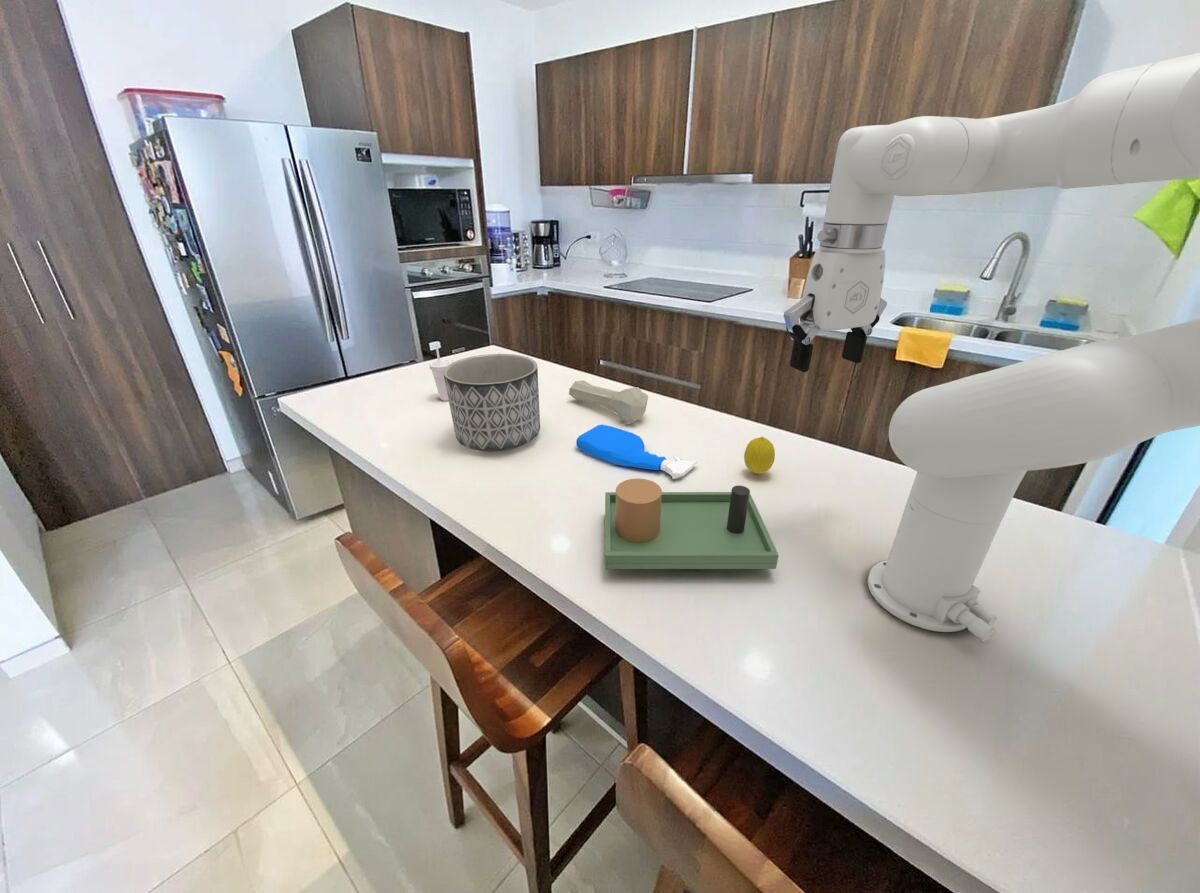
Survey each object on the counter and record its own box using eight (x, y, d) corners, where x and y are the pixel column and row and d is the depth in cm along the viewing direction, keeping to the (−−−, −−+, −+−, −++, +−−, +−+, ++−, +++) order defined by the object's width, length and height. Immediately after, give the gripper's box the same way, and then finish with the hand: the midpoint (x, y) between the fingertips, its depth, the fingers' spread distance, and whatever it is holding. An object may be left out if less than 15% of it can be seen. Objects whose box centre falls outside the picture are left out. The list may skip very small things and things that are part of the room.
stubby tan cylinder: (615, 542, 74) (616, 503, 70) (615, 515, 80) (615, 478, 76) (661, 542, 74) (664, 503, 70) (657, 515, 80) (659, 478, 76)
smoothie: (434, 395, 135) (425, 344, 128) (459, 392, 136) (451, 342, 130) (435, 403, 129) (425, 351, 123) (460, 400, 131) (452, 348, 124)
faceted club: (629, 428, 112) (556, 404, 129) (652, 426, 119) (580, 403, 135) (635, 390, 110) (561, 370, 126) (658, 390, 116) (584, 371, 133)
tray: (605, 569, 70) (604, 523, 66) (605, 504, 84) (605, 463, 80) (776, 569, 70) (785, 522, 66) (747, 504, 84) (753, 462, 80)
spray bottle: (571, 438, 104) (674, 476, 91) (603, 420, 112) (701, 453, 98) (572, 451, 105) (672, 490, 92) (603, 432, 113) (700, 466, 100)
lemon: (772, 482, 93) (779, 445, 90) (742, 480, 94) (747, 442, 91) (770, 468, 98) (776, 431, 94) (741, 465, 99) (746, 429, 95)
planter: (438, 453, 105) (424, 380, 97) (479, 416, 122) (470, 351, 114) (523, 463, 101) (516, 387, 93) (553, 423, 117) (549, 356, 110)
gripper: (820, 244, 59) (795, 381, 67) (925, 237, 64) (891, 364, 72) (778, 239, 65) (760, 364, 73) (877, 233, 71) (850, 350, 79)
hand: (825, 364), depth 73 cm, fingers open, 9 cm apart
